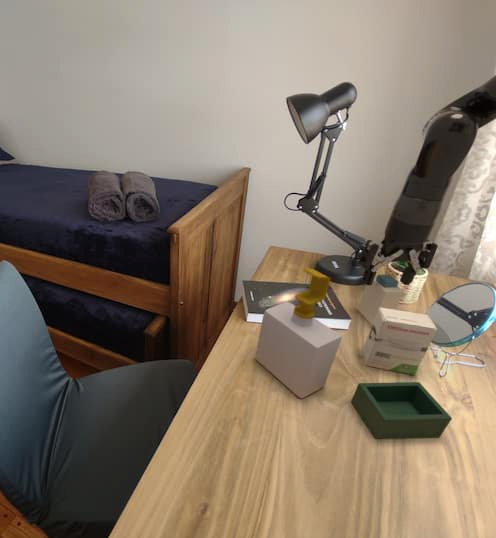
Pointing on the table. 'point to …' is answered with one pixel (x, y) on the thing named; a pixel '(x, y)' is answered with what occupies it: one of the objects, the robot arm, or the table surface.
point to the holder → (399, 410)
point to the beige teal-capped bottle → (379, 296)
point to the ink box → (398, 340)
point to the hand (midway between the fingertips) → (385, 283)
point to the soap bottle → (298, 340)
